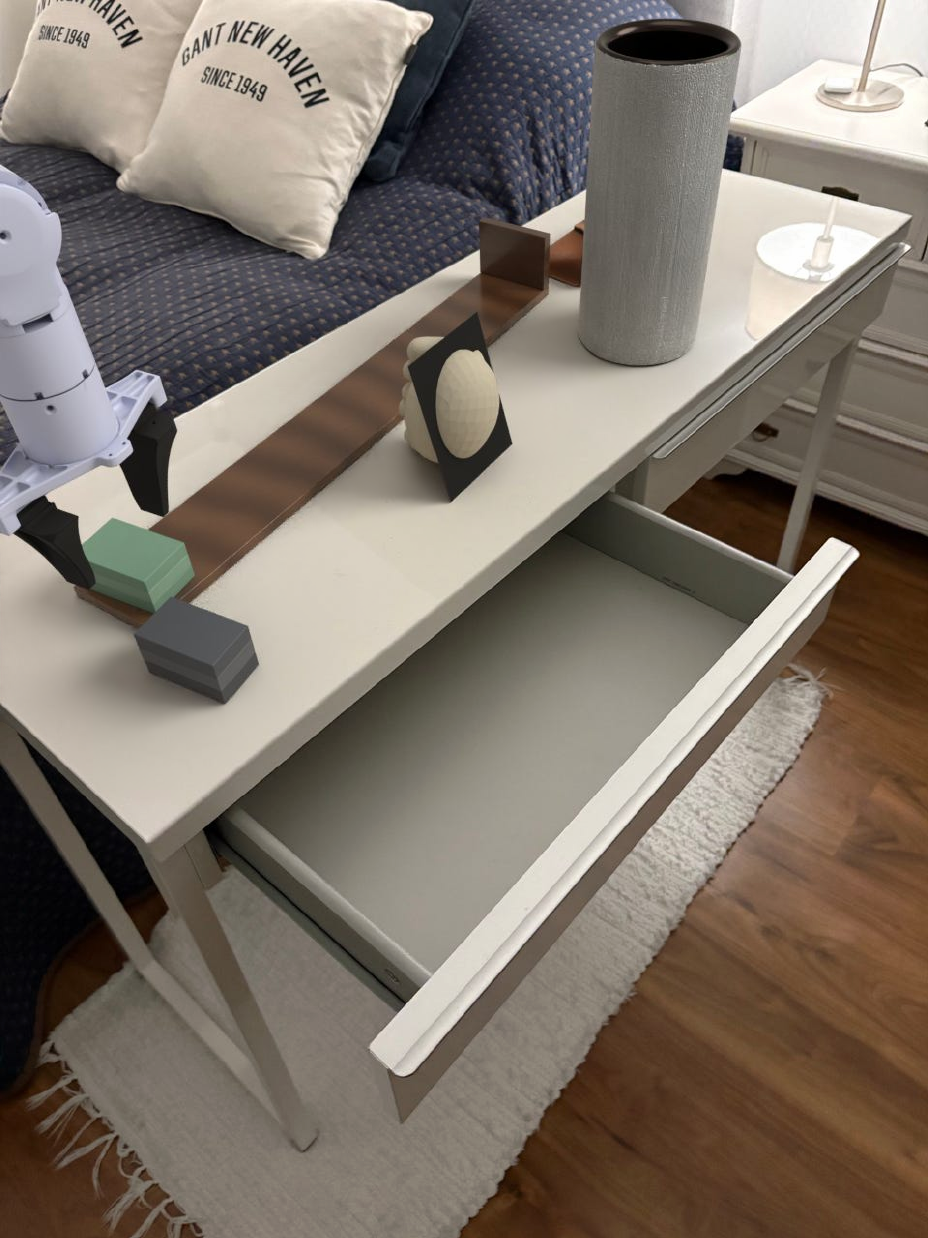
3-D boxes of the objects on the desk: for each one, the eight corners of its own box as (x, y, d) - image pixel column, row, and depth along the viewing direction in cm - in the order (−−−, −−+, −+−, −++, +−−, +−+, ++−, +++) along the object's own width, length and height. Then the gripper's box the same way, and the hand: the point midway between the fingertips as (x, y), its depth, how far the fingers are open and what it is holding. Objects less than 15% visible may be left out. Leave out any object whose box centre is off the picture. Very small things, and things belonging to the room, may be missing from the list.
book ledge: (151, 636, 74) (124, 570, 69) (76, 596, 77) (46, 529, 72) (548, 294, 108) (550, 233, 103) (485, 276, 111) (484, 216, 106)
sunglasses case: (606, 209, 121) (634, 168, 116) (645, 249, 121) (675, 210, 116) (524, 266, 112) (551, 224, 106) (567, 309, 112) (596, 270, 106)
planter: (718, 331, 101) (770, 33, 81) (651, 381, 95) (689, 72, 75) (622, 295, 107) (649, 9, 87) (554, 340, 101) (565, 44, 81)
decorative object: (387, 493, 88) (449, 438, 94) (477, 505, 82) (537, 445, 87) (340, 364, 81) (410, 312, 86) (434, 367, 74) (504, 311, 80)
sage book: (148, 593, 72) (143, 581, 71) (75, 565, 75) (70, 554, 74) (188, 553, 75) (184, 542, 74) (116, 528, 77) (112, 517, 77)
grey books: (225, 704, 69) (212, 666, 66) (148, 672, 71) (132, 634, 68) (259, 664, 71) (248, 625, 68) (184, 634, 74) (170, 596, 71)
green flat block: (156, 615, 74) (148, 593, 72) (85, 587, 76) (75, 565, 75) (195, 575, 77) (188, 553, 75) (125, 550, 79) (116, 528, 78)
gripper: (3, 462, 50) (92, 636, 60) (178, 323, 58) (230, 496, 68) (-92, 430, 52) (8, 603, 62) (89, 301, 61) (152, 471, 71)
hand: (119, 545), depth 65 cm, fingers open, 7 cm apart
